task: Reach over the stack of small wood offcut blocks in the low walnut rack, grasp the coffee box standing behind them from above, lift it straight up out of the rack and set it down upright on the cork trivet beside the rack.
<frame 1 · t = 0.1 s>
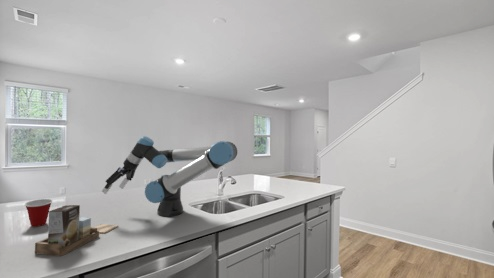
hand: (112, 189, 133), 15 cm above the worktop, tool tilted 35°, fingers open, 13 cm apart
offcut block top: (80, 225, 103), point 6 cm above the worktop, touching offcut block middle
plastic cup: (38, 225, 118), on the worktop
cork trivet: (102, 229, 114), on the worktop
walnut rack: (69, 244, 97), on the worktop
offcut block bottom: (80, 239, 103), resting in walnut rack, touching offcut block middle
coffee box: (64, 247, 95), resting in walnut rack
offcut block middle: (80, 232, 103), point 3 cm above the worktop, touching offcut block bottom, offcut block top
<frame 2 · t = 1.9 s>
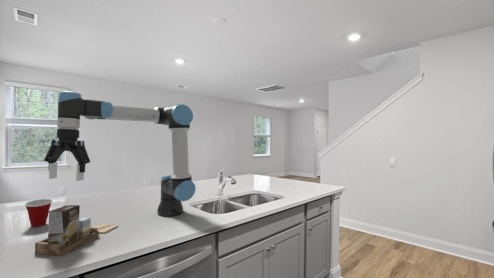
hand: (66, 179, 96), 28 cm above the worktop, tool pointing down, fingers open, 13 cm apart
nothing on the worktop moved.
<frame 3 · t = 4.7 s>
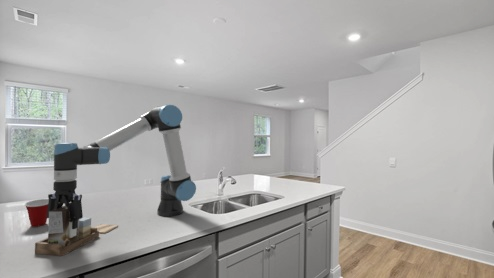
hand: (64, 235, 95), 5 cm above the worktop, tool pointing down, fingers closed on coffee box, 7 cm apart
coffee box: (64, 247, 95), resting in walnut rack, touching gripper
everything else where it was.
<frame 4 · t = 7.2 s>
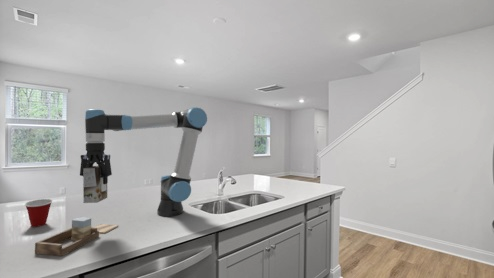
hand: (96, 190, 109), 20 cm above the worktop, tool pointing down, fingers closed on coffee box, 7 cm apart
coffee box: (96, 200, 109), point 15 cm above the worktop, touching gripper
everything else where it was.
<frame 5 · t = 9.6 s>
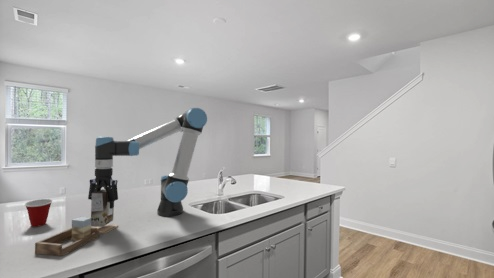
hand: (102, 214, 114), 7 cm above the worktop, tool pointing down, fingers closed on coffee box, 7 cm apart
coffee box: (102, 223, 114), point 3 cm above the worktop, touching gripper
everything else where it was.
when the fingers open (6 cm above the worktop, at t = 10.3 s): coffee box stays where it is, resting on cork trivet.
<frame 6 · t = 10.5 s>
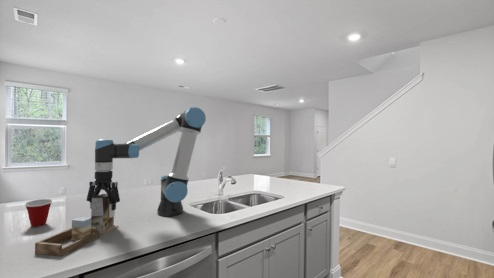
hand: (102, 216, 114), 7 cm above the worktop, tool pointing down, fingers open, 9 cm apart
coffee box: (102, 228, 114), resting on cork trivet
everything else where it was.
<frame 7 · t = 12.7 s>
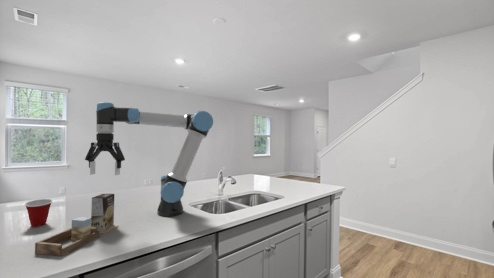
hand: (104, 174, 118), 26 cm above the worktop, tool pointing down, fingers open, 13 cm apart
nothing on the worktop moved.
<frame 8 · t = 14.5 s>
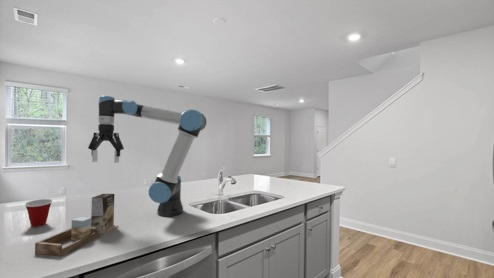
hand: (105, 162, 128), 32 cm above the worktop, tool pointing down, fingers open, 13 cm apart
nothing on the worktop moved.
at the end: coffee box inside the target area (0.1 cm from its centre), resting on cork trivet; coffee box tilted 0°; offcut block top moved 0.2 cm from its start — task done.
